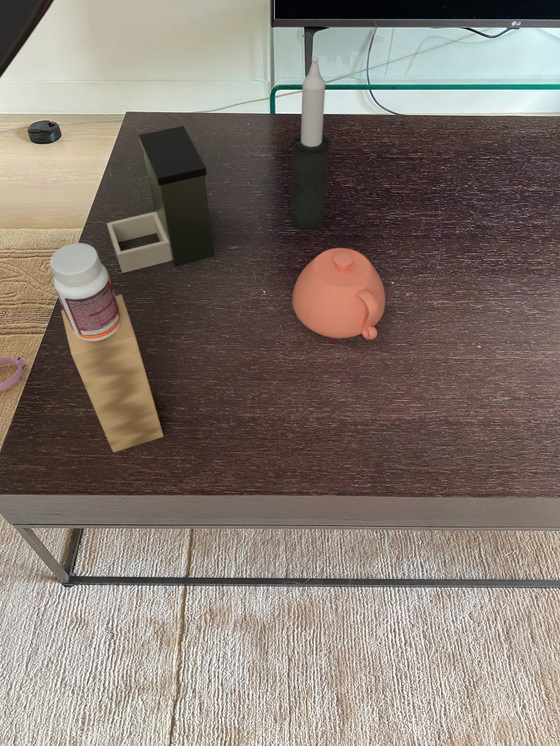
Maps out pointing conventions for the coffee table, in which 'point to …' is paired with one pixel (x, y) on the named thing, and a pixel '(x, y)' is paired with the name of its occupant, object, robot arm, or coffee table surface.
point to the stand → (117, 384)
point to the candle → (310, 156)
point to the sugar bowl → (339, 295)
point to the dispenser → (179, 193)
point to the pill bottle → (85, 292)
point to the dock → (142, 254)
